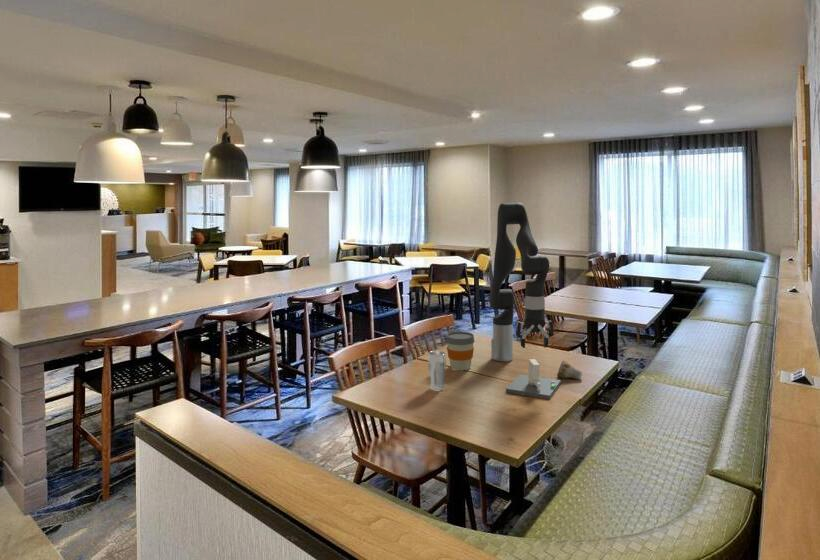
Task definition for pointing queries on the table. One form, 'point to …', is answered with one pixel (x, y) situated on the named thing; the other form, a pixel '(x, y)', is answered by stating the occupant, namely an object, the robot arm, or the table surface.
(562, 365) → the mug
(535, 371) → the peg knob
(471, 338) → the reusable coffee cup
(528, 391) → the dial board
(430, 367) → the beer glass
